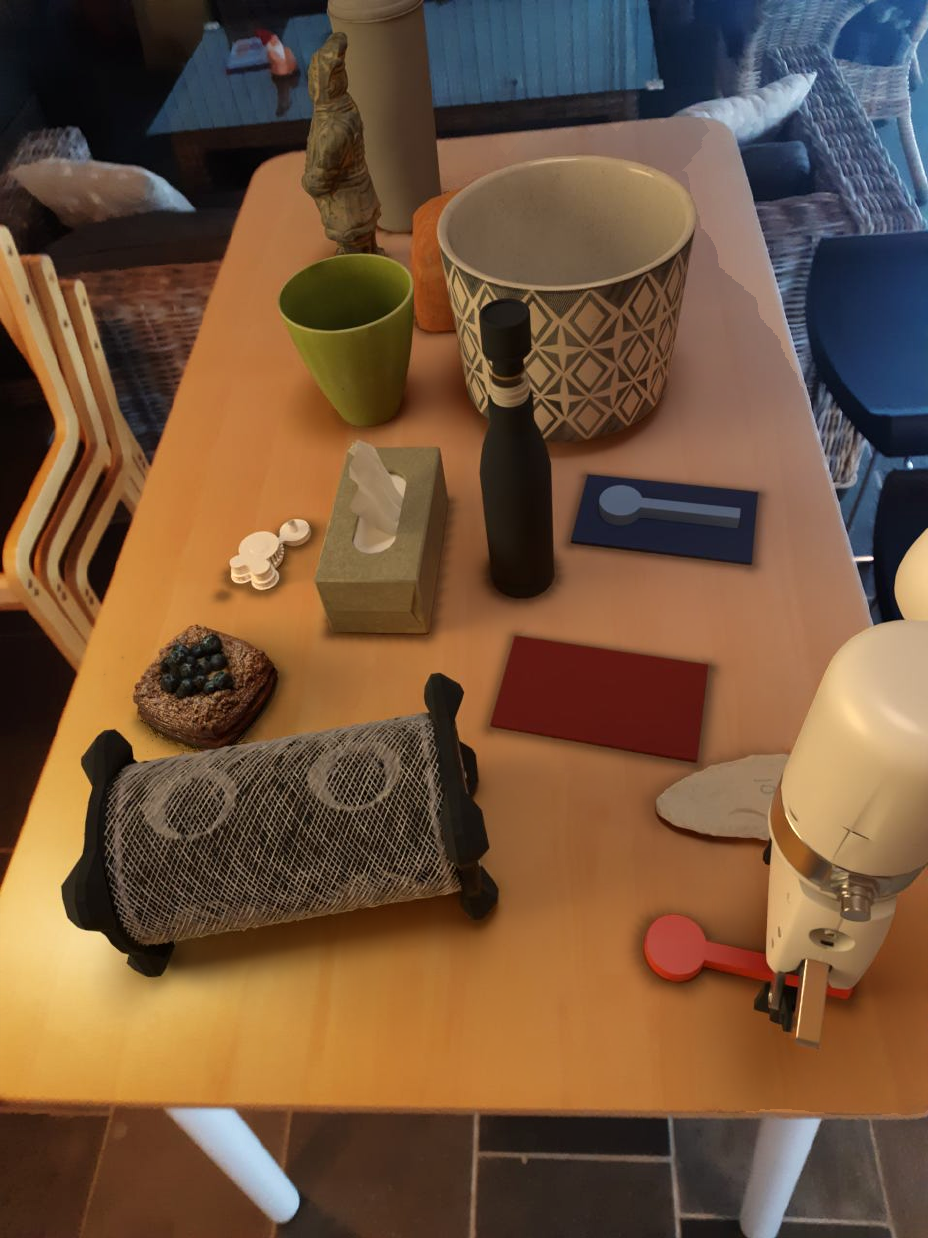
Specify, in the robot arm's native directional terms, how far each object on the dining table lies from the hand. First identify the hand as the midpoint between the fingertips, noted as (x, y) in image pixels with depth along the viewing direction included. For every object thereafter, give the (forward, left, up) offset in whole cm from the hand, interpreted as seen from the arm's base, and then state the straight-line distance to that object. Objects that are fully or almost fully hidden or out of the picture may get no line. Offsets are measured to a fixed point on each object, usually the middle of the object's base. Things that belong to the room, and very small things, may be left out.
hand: (783, 934), depth 57 cm
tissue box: (+39, -33, -9) cm, 52 cm away
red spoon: (+1, 0, -9) cm, 9 cm away
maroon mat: (+15, -21, -9) cm, 27 cm away
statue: (+61, -86, -9) cm, 106 cm away
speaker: (+35, -1, -9) cm, 36 cm away
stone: (+2, -13, -9) cm, 16 cm away
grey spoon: (+12, -44, -8) cm, 46 cm away
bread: (+34, -83, -9) cm, 90 cm away
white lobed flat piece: (+52, -31, -9) cm, 61 cm away
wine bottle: (+25, -34, -9) cm, 43 cm away
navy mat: (+12, -44, -9) cm, 47 cm away
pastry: (+51, -14, -9) cm, 54 cm away
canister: (+58, -102, -9) cm, 118 cm away
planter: (+26, -63, -9) cm, 69 cm away
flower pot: (+49, -57, -9) cm, 76 cm away
